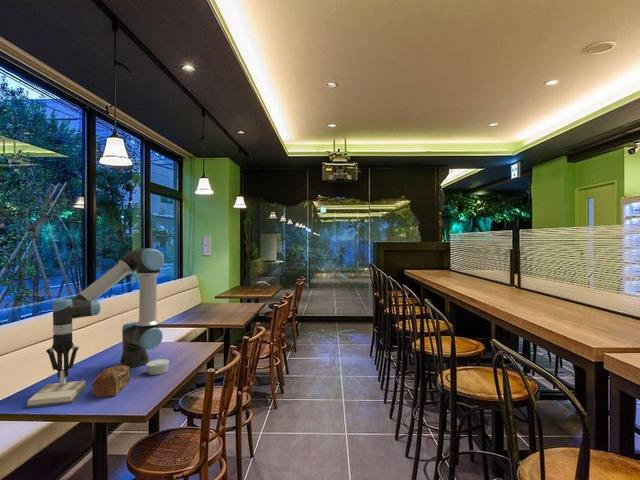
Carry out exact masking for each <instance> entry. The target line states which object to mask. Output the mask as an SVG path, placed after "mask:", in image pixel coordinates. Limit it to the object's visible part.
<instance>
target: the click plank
mask: <svg viewBox="0 0 640 480" xmlns="http://www.w3.org/2000/svg"><path fill="white" fill-rule="evenodd" d="M86 384H87V383H86V380H80V381H79V380H77V381H66V383H65V384H64V385H60V382H56V383H55V382H53V383H47V384H45V385H44V386H43V387H41V388H40V389H39V390H38V391H37V392H36V393H45V392H55V391H65V390H75V389H77V393H78V392H79V391H80V390H81V389H82V388H83V387H84V386H85V385H86Z"/></svg>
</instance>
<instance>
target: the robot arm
mask: <svg viewBox="0 0 640 480" xmlns="http://www.w3.org/2000/svg"><path fill="white" fill-rule="evenodd" d="M164 264H165V257H164V255H163V253H162V252H161V251H160V250H158V249H156V248H152V247H151V248H143V247H142V248H136V249H134V250H131V251H130V252H129V253H127V254H126V255H125V256H123V257H122V258H120V259H119V260H118V263H117V264H116V265H115V266H113V267H112V268H111V269H109V270H108V271H107V272H105V273H104V274H103V275H102V276H100V277H99V278H97V279H96V280H95V281H94V282H92V283H91V284H89V286H87V287H86V288H85V289H83V290H81V291H80V293H78V294H77V295H75V296H74V297H71V298H59V299H55V300H54V301H53V304H52V333H53V335H52V345H51V347H50V348H49V347H48V348H47V349H45V350H46V351H45V352H46V353H47V354H48V357H49V360H50V363H51V367H52V370H53V371H57V378H58V379H59V383H60V385H64V384H65V383H66V382H67V377H69V370H70V369H72V368H73V366H74V363H75V361H76V360H75V359H76V355H77V352H78V350H79V349H80V346H79V345H78V346H76V345H74V343H73V319H74V320H75V319H79V318H87V317H94V316H98V315H99V314H100V312H101V304H100V301H98V300H97V299H99V298H100V297H101V296H102V295H103V294H105V293H106V292H107V291H108V290H110V289H111V288H112V287H114V286H115V285H117V283H118V282H120V281H121V280H123V278H125V277H126V276H127V275H132V274H133V273H134V272H136V274H137V275H138V276H139V294H138V295H139V297H138V303H139V304H138V321H135V322H128V323H125V324H123V325H122V329H121V332H122V334H121V335H122V352H121V355H120V359H119V364H118V365H124V366H129V367H130V368H135V367H141V366H144V365H146V364H147V363H148V362H150V357H149V354H148V351H147V350H154V349H156V348H157V347H159V345H160V344H161V343H162V340H163V337H164V336H163V335H164V334H163V331H161V329H160V322H159V321H158V320H157V291H158V290H157V289H158V288H157V287H158V285H157V284H158V283H157V281H158V275H160V273H161V269H162V268H163V266H164ZM71 350H72V352H71V356H70V358H69V354H70V351H71ZM55 353H56V354H55ZM56 357H57V359H56Z"/></svg>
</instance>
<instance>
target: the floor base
mask: <svg viewBox="0 0 640 480" xmlns="http://www.w3.org/2000/svg"><path fill="white" fill-rule="evenodd" d="M87 387H88V384H87V383H86V385H85V386H84V387H83V388H82V389H81V390H80V391H79V392H78V393H77V389H75V390H65V391H55V392H45V393H37V392H36V393H34V395H32V396H31V397H30V398H29V399H28V400H27V404H26V406H25V408H26V409H31V408H38V407H49V406H58V405H68V404H73V403H74V402H75V400H76V399H77V398H78V397H79V396H80V395H81V394H82V393H83V391H84V390H86V388H87Z"/></svg>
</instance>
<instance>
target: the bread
mask: <svg viewBox="0 0 640 480" xmlns="http://www.w3.org/2000/svg"><path fill="white" fill-rule="evenodd" d="M130 380H131V367H129V366H124V365H119V364H118V365H112V366H111V367H108V368H105V369H104V370H102V371H101V372H100V373H98V374H97V375H96V376H95V378H94V379H93V382H92V391H93V392H92V393H93V397H96V398H109V397H115V396H117V395H118V394H119V393H120V392H121V391H122V390H124V389H125V387H126V386H127V385H128V384H129V383H130Z"/></svg>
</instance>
